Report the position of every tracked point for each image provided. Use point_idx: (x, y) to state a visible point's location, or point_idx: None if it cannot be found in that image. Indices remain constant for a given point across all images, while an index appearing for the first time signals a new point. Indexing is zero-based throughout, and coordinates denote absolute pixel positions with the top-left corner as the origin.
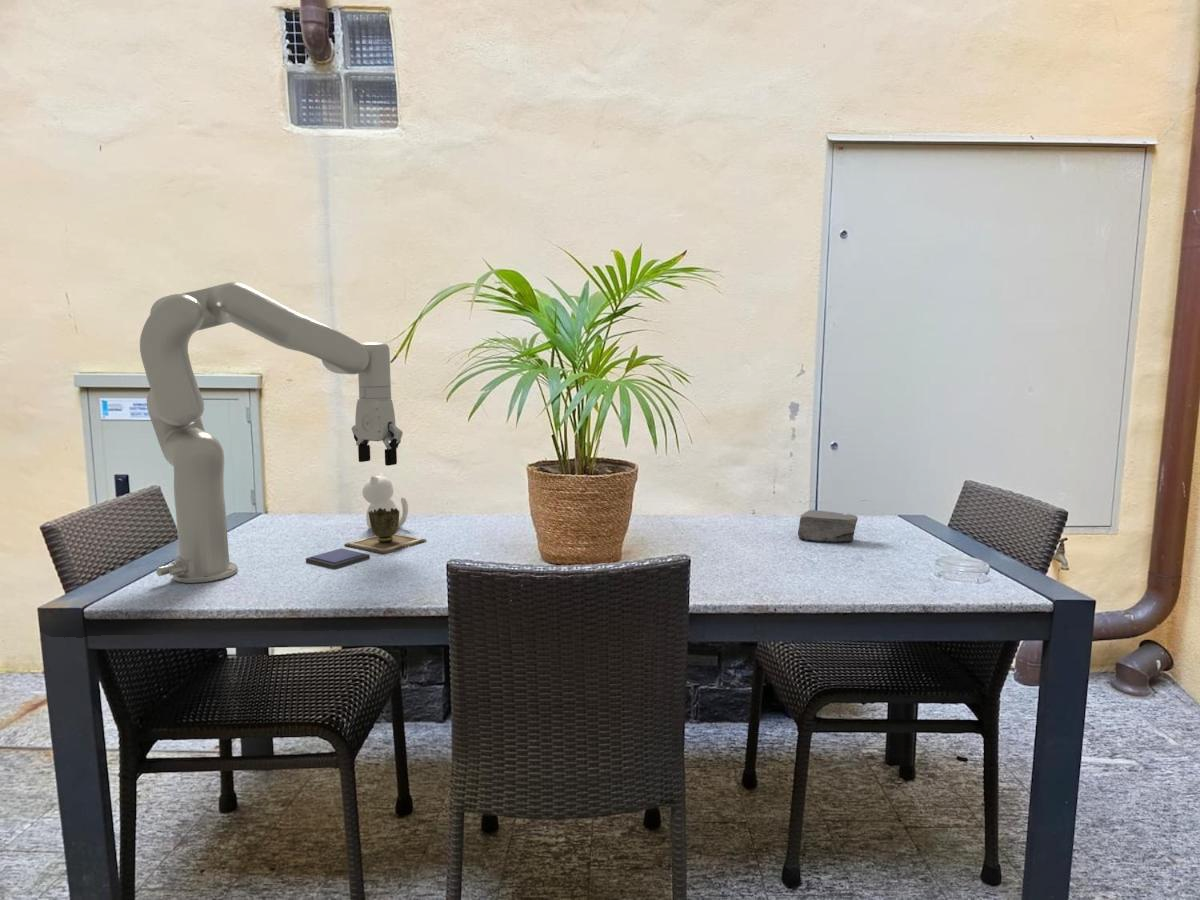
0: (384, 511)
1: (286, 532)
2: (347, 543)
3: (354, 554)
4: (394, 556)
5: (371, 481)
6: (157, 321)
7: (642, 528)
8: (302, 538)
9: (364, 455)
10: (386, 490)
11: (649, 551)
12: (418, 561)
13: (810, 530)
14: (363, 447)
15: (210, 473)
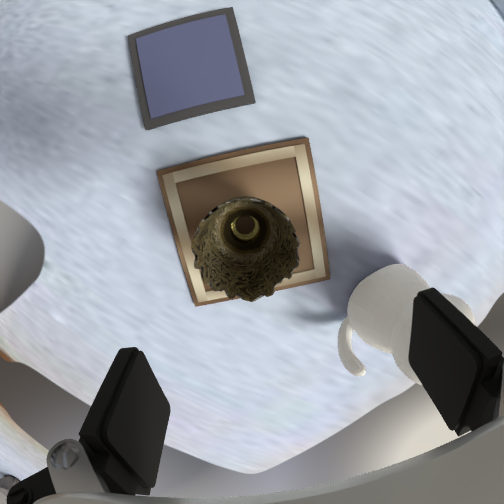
0: (286, 271)
1: (494, 128)
2: (303, 143)
3: (162, 96)
4: (125, 183)
5: None
6: None
7: None
8: (439, 115)
9: (431, 347)
10: (398, 352)
11: (6, 424)
12: (62, 206)
13: (9, 482)
14: (465, 384)
15: None
